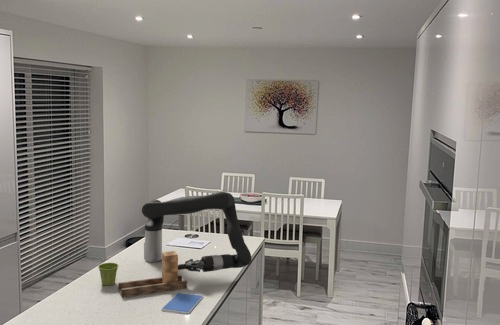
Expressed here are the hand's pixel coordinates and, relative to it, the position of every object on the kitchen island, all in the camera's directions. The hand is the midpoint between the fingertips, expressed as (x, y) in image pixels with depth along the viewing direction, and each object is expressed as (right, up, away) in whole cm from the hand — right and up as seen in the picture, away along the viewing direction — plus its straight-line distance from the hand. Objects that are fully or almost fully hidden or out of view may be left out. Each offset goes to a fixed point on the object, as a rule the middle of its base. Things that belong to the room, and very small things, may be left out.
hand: (177, 267), depth 225 cm
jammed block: (-4, -8, -1) cm, 9 cm away
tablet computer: (+5, -12, -19) cm, 23 cm away
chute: (-11, -9, -4) cm, 15 cm away
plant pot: (-33, -8, +2) cm, 34 cm away
